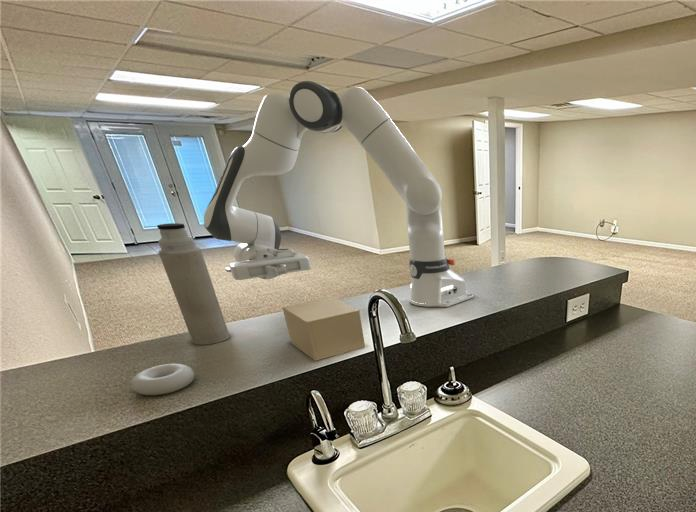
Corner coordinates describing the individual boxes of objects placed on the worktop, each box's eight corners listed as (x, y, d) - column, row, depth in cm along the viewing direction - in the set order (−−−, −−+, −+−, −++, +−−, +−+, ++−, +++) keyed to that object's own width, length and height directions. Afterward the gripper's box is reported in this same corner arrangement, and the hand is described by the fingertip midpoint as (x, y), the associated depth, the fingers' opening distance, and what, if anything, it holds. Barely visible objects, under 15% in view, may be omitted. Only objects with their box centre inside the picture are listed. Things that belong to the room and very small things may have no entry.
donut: (204, 385, 83) (187, 370, 89) (198, 371, 81) (182, 356, 87) (142, 404, 76) (129, 386, 82) (135, 388, 75) (122, 371, 80)
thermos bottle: (208, 332, 108) (169, 221, 95) (236, 334, 108) (200, 222, 94) (184, 343, 101) (138, 225, 88) (214, 345, 101) (172, 226, 87)
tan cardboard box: (291, 343, 103) (282, 307, 99) (339, 331, 111) (332, 297, 107) (315, 360, 94) (306, 322, 90) (365, 346, 102) (359, 310, 98)
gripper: (219, 257, 110) (234, 265, 102) (296, 248, 123) (315, 254, 115) (226, 280, 113) (242, 289, 105) (301, 268, 126) (320, 276, 118)
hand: (281, 271), depth 110 cm, fingers closed
